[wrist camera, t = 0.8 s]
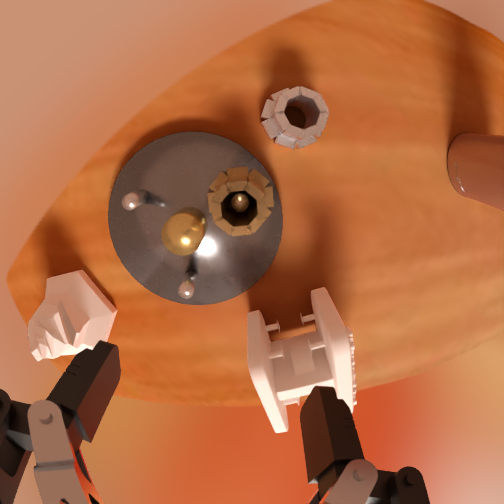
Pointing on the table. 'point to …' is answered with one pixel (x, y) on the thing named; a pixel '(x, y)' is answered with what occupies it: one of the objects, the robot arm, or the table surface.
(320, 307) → the cable organizer
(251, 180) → the seated gear
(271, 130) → the gear
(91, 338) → the white faceted rock
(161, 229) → the carrier
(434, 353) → the table surface
